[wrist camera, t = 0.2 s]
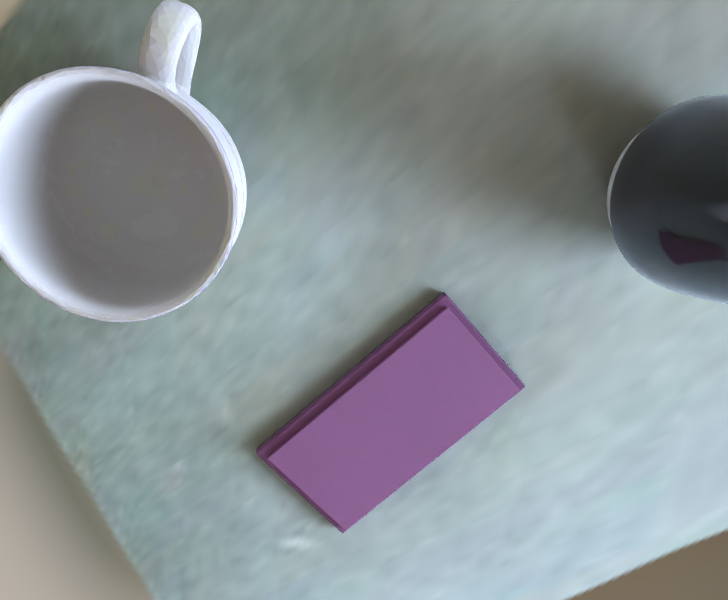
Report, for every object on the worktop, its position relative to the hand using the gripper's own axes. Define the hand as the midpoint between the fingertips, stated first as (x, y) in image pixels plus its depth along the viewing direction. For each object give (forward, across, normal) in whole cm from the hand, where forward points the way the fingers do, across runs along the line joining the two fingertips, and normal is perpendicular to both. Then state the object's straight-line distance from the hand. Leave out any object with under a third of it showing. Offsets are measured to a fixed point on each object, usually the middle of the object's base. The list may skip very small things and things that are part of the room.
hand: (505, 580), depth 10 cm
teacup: (+27, -9, +7) cm, 29 cm away
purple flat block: (+27, 0, -11) cm, 29 cm away
